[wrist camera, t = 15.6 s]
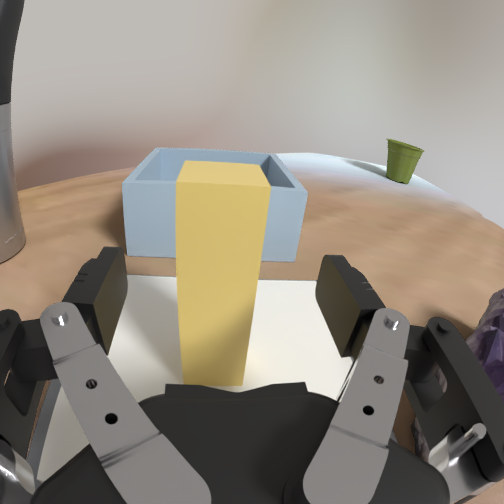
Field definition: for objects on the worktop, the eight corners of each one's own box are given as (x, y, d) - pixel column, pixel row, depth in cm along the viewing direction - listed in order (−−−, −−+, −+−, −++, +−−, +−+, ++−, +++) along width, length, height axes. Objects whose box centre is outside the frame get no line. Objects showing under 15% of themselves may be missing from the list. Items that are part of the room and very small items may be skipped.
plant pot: (418, 190, 74) (427, 152, 69) (378, 178, 78) (387, 139, 72) (413, 181, 84) (421, 148, 79) (379, 171, 88) (386, 137, 82)
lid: (44, 484, 9) (-115, 291, 3) (108, 282, 26) (94, 137, 19) (390, 482, 12) (549, 309, 6) (313, 289, 28) (344, 152, 22)
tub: (127, 255, 31) (122, 183, 27) (155, 197, 46) (156, 147, 42) (294, 262, 33) (307, 192, 29) (268, 202, 49) (275, 154, 45)
